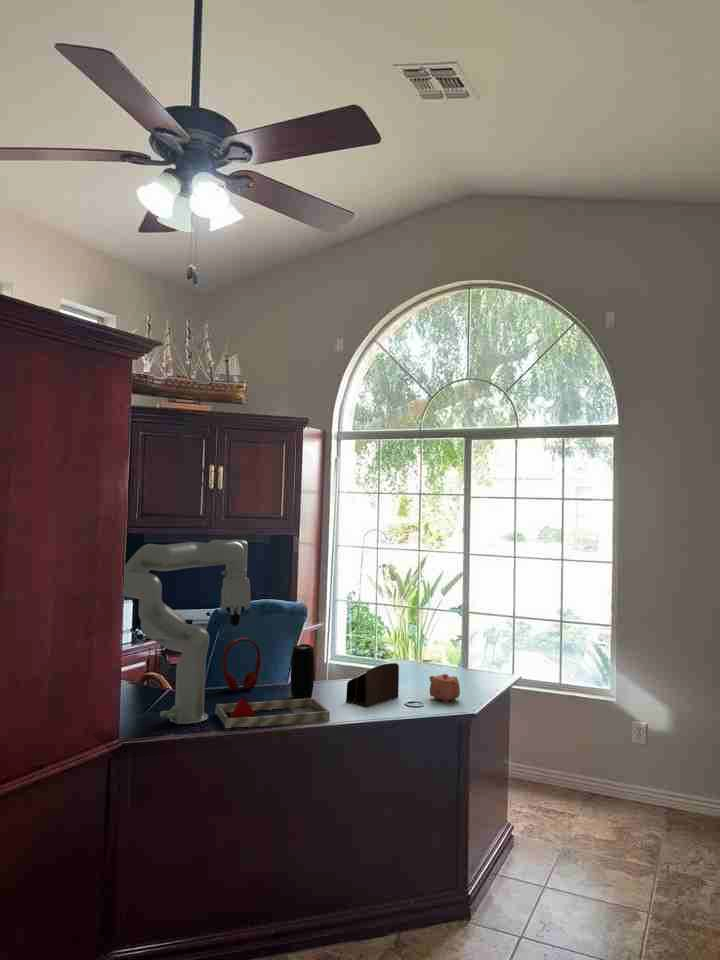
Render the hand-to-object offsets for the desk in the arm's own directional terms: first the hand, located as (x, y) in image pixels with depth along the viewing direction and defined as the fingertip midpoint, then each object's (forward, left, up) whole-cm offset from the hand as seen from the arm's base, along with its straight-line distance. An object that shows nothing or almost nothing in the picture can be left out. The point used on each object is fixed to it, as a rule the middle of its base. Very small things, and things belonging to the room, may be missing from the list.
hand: (234, 625), depth 267 cm
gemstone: (-6, -19, -29) cm, 35 cm away
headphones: (+13, +19, -29) cm, 37 cm away
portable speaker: (+28, -2, -29) cm, 41 cm away
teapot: (+74, -30, -29) cm, 85 cm away
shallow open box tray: (+7, -18, -29) cm, 35 cm away
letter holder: (+50, -17, -30) cm, 61 cm away
